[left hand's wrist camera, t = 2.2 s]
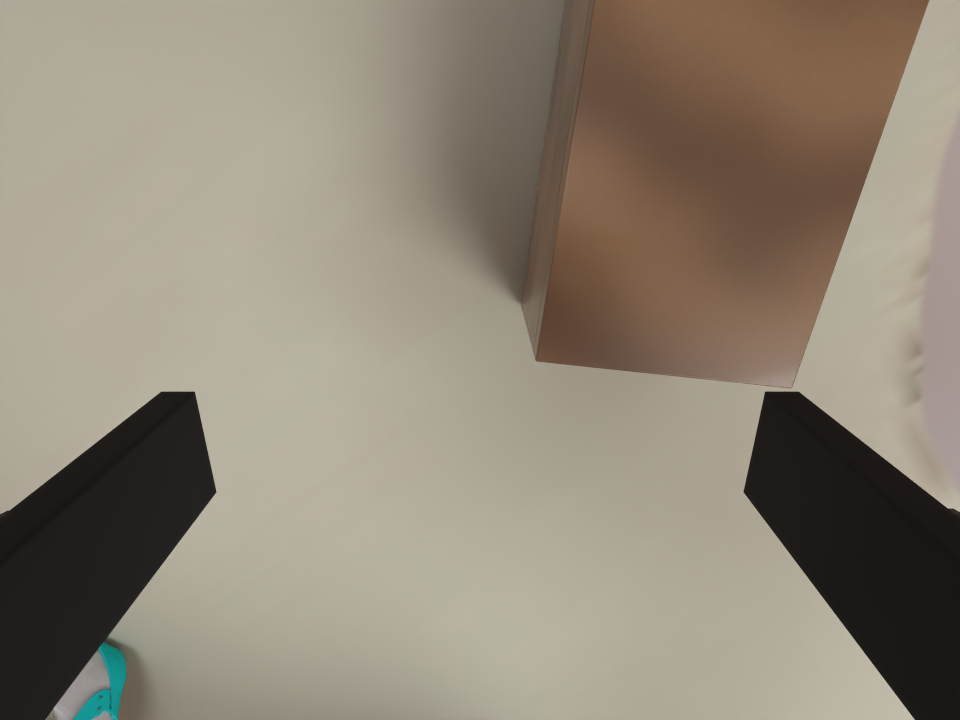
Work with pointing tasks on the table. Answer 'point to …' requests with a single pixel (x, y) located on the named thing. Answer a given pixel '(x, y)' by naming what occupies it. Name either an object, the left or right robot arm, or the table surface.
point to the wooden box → (705, 178)
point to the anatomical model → (95, 688)
